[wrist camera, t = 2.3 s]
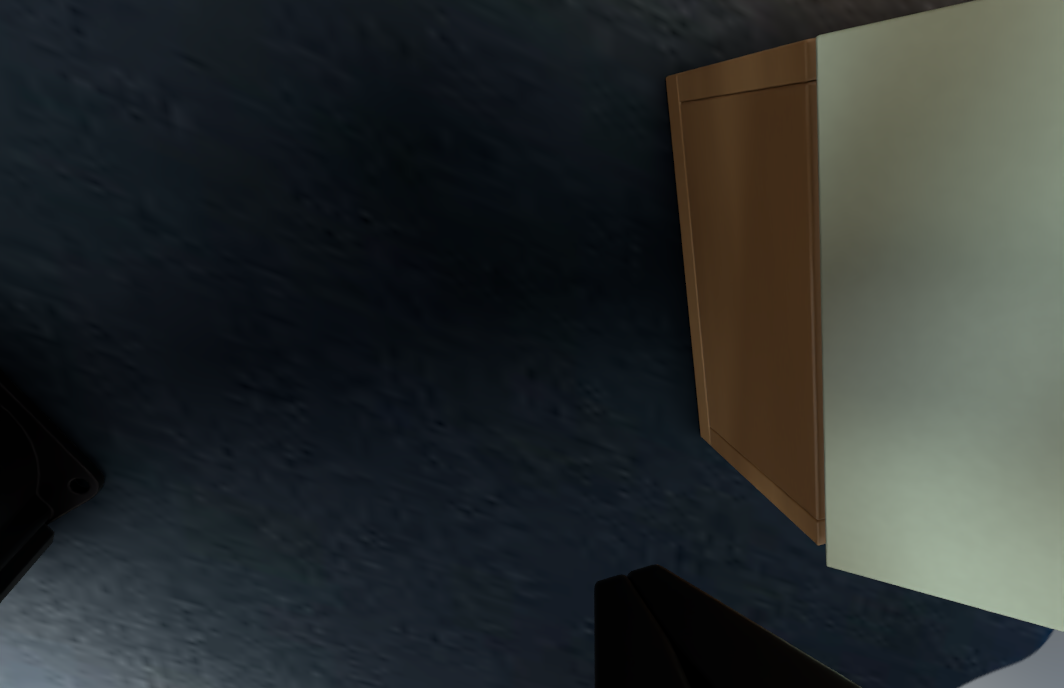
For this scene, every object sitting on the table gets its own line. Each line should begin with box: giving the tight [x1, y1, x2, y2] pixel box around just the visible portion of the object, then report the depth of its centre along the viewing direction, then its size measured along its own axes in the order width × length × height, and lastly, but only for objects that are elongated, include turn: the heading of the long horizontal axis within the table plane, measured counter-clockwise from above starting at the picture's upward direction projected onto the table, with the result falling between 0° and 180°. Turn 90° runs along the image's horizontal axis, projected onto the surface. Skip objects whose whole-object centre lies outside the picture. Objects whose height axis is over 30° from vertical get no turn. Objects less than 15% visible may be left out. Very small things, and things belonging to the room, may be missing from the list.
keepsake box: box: [666, 38, 826, 545], centre depth 19 cm, size 16×13×7 cm
